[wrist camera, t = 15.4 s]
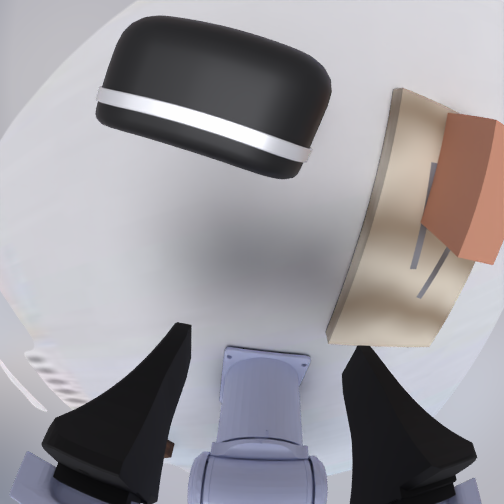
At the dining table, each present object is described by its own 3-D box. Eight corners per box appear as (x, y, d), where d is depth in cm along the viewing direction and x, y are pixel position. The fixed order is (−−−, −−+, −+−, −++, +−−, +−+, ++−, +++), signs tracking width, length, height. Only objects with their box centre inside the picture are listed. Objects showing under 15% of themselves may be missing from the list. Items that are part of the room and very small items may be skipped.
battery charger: (305, 93, 15) (367, 62, 5) (283, 146, 17) (308, 198, 7) (199, 57, 14) (107, -3, 4) (179, 111, 16) (66, 121, 6)
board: (423, 336, 24) (429, 347, 23) (325, 331, 24) (328, 343, 22) (499, 141, 15) (511, 144, 13) (393, 89, 14) (403, 88, 13)
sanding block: (455, 231, 17) (492, 265, 13) (420, 222, 17) (457, 257, 13) (482, 131, 13) (529, 144, 9) (447, 112, 13) (496, 119, 9)
